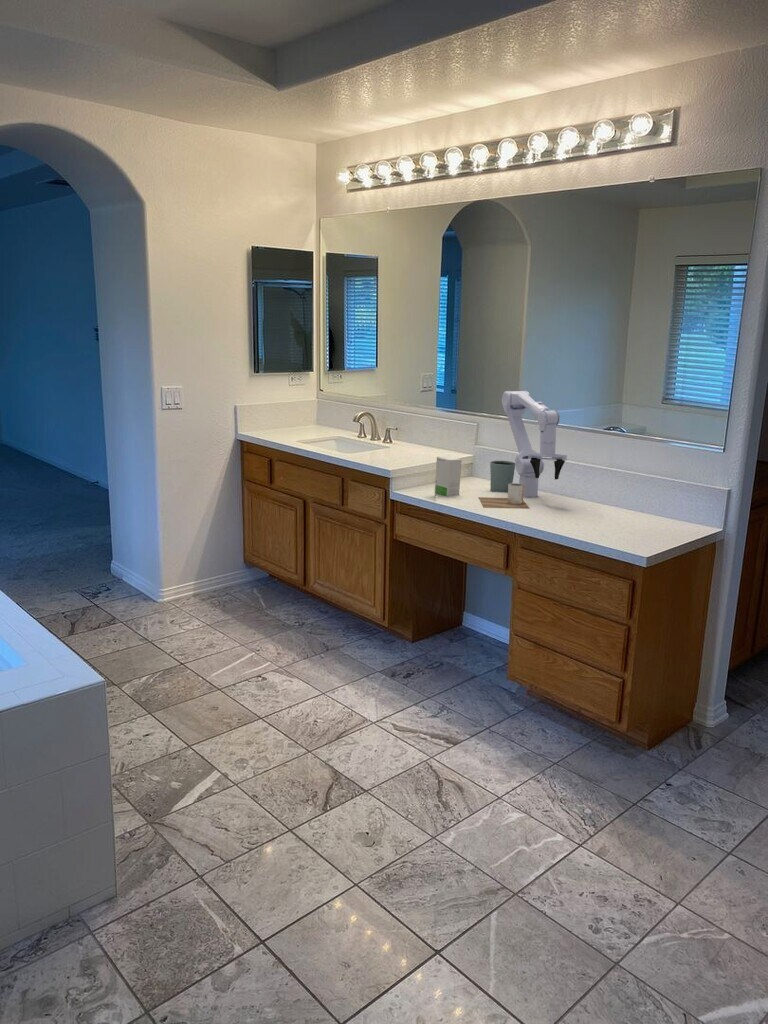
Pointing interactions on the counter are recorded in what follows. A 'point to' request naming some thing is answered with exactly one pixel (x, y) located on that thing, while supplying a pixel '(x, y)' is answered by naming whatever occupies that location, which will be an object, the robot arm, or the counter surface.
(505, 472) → the green plant pot
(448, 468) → the skincare box
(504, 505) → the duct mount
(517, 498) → the duct sleeve
